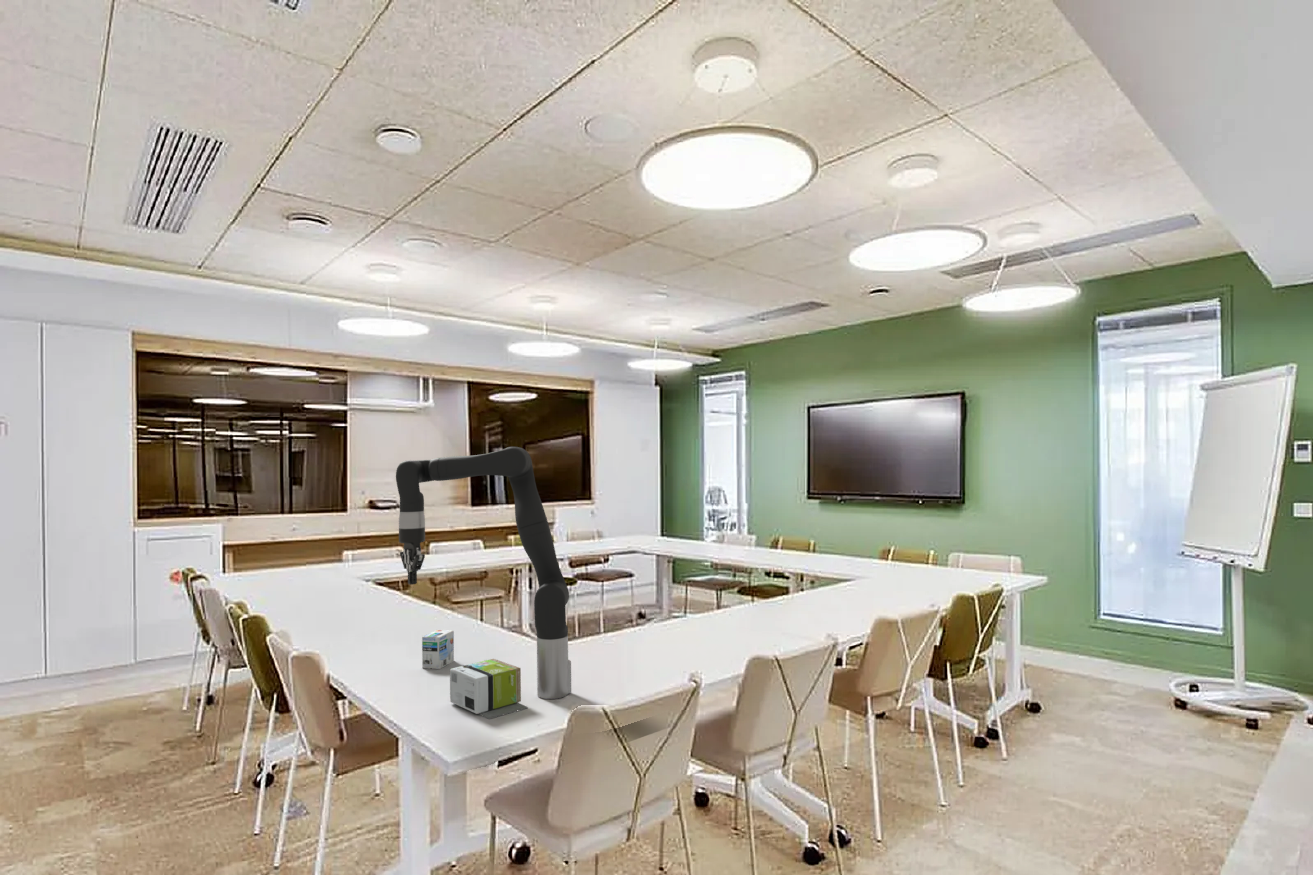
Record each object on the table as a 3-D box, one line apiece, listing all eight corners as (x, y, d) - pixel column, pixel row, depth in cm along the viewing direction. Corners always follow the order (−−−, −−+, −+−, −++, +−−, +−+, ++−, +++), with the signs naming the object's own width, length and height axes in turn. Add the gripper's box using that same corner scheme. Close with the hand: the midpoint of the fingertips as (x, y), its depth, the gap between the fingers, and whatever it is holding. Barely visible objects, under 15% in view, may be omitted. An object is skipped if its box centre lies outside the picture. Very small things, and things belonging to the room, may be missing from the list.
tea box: (449, 667, 209) (493, 657, 219) (449, 702, 208) (493, 691, 218) (476, 678, 198) (522, 667, 208) (476, 715, 197) (522, 702, 208)
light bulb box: (439, 669, 244) (439, 637, 244) (421, 668, 245) (421, 636, 245) (454, 660, 254) (454, 629, 254) (437, 660, 255) (436, 629, 256)
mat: (488, 690, 220) (488, 689, 220) (527, 708, 204) (527, 706, 204) (451, 700, 212) (451, 698, 212) (489, 719, 196) (489, 717, 196)
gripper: (433, 526, 217) (433, 585, 216) (414, 524, 227) (415, 580, 226) (409, 528, 212) (409, 588, 211) (390, 526, 221) (391, 583, 221)
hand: (412, 584), depth 219 cm, fingers closed
